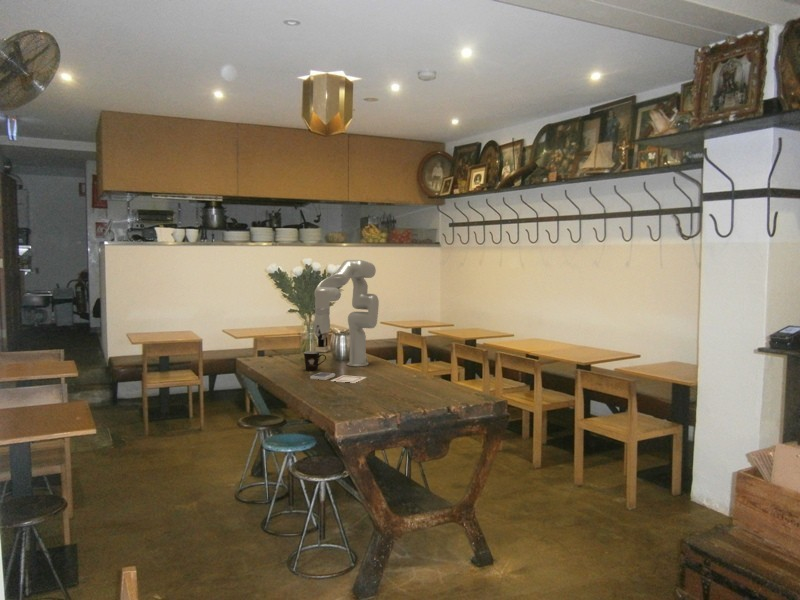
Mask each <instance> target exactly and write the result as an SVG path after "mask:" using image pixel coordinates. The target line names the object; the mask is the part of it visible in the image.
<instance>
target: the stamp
mask: <svg viewBox="0 0 800 600" xmlns="http://www.w3.org/2000/svg"><path fill="white" fill-rule="evenodd" d="M326 336H327V332H326V333H324V334H323V339H324V347H318V345H317V346H315V351H316V353H319V354H326V353H330V352H331V345H327V346H326Z"/></svg>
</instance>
